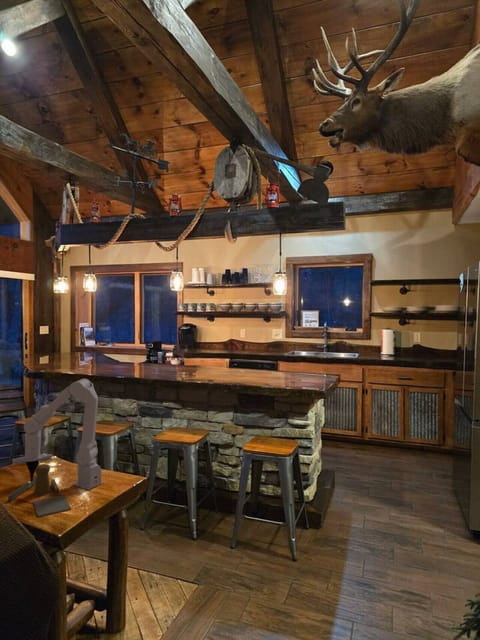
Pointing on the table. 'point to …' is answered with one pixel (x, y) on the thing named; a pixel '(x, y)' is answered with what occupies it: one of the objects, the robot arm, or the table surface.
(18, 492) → the bar
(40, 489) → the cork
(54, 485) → the rail
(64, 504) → the mat
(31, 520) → the table surface
